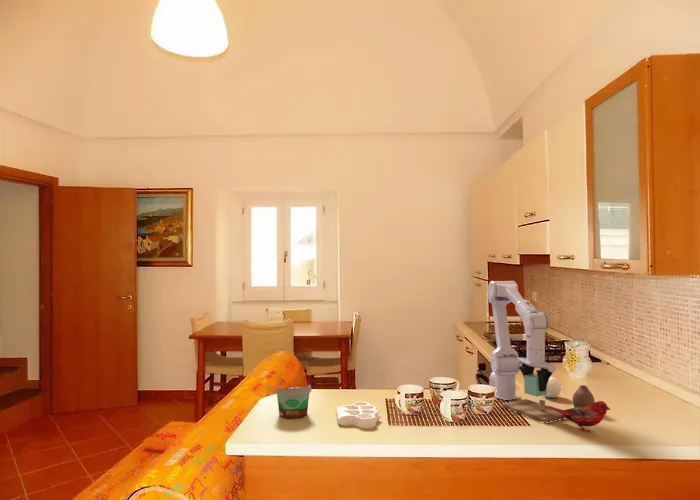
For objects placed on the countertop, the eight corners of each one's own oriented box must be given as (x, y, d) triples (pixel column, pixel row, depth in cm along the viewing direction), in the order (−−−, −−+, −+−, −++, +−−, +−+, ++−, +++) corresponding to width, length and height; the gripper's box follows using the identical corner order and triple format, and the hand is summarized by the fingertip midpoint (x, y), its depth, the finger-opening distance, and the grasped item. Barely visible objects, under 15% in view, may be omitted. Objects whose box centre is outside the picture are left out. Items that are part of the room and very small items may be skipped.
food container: (277, 422, 158) (277, 391, 158) (274, 416, 164) (274, 386, 164) (314, 418, 161) (314, 388, 161) (311, 412, 167) (311, 383, 167)
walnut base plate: (502, 408, 172) (502, 394, 172) (526, 403, 178) (526, 389, 178) (544, 423, 157) (544, 408, 157) (569, 417, 162) (569, 402, 162)
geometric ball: (554, 404, 186) (568, 388, 185) (547, 400, 181) (561, 384, 180) (539, 390, 192) (552, 374, 191) (531, 386, 186) (545, 370, 185)
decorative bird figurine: (610, 437, 145) (610, 403, 145) (547, 426, 154) (547, 395, 154) (611, 434, 148) (611, 401, 148) (548, 424, 156) (548, 392, 157)
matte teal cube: (524, 392, 166) (524, 375, 166) (534, 390, 168) (534, 373, 168) (536, 396, 161) (536, 378, 161) (546, 394, 164) (546, 376, 164)
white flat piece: (335, 411, 170) (377, 410, 171) (338, 430, 152) (385, 429, 153) (335, 402, 170) (377, 401, 171) (338, 419, 152) (385, 418, 153)
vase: (592, 409, 171) (592, 384, 171) (596, 415, 165) (596, 389, 165) (571, 407, 173) (571, 382, 173) (574, 413, 167) (574, 388, 167)
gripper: (510, 346, 169) (510, 385, 169) (545, 353, 157) (545, 396, 156) (525, 344, 173) (525, 382, 173) (560, 351, 160) (560, 393, 160)
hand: (535, 388), depth 165 cm, fingers closed on matte teal cube, 5 cm apart
